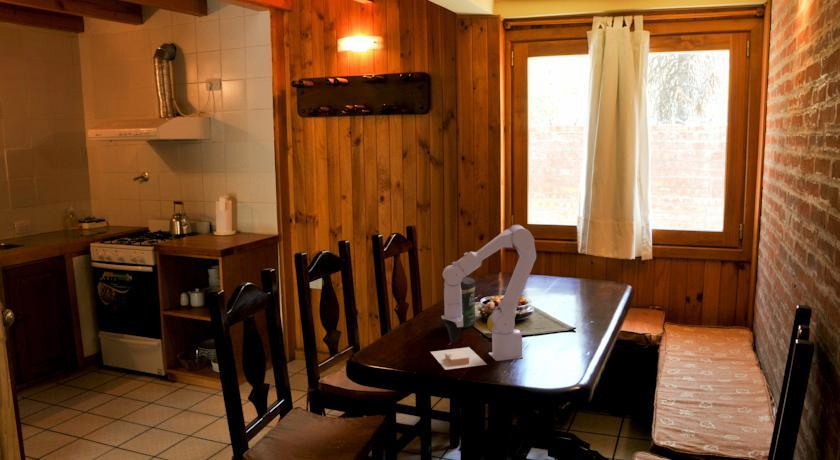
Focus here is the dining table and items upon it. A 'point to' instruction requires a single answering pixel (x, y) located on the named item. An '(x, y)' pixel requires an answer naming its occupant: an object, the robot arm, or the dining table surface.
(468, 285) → the coffee jar
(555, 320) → the dining table surface
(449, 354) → the tile
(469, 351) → the mat
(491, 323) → the lemon
